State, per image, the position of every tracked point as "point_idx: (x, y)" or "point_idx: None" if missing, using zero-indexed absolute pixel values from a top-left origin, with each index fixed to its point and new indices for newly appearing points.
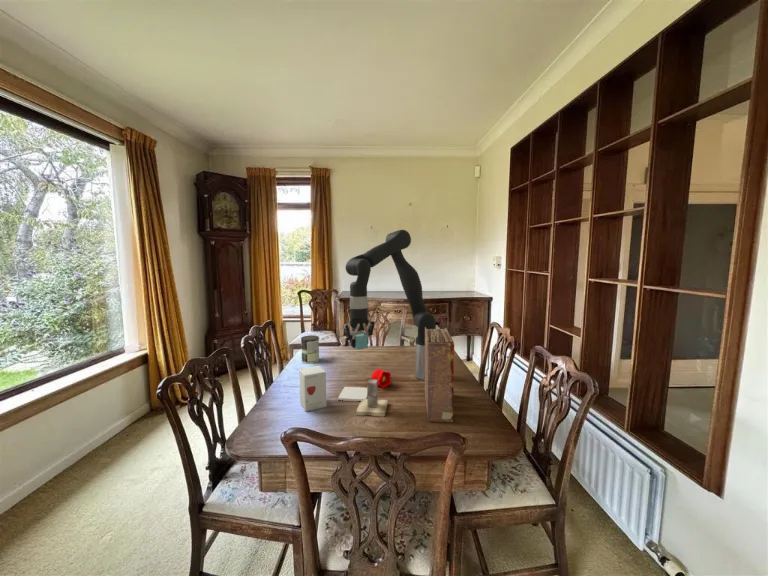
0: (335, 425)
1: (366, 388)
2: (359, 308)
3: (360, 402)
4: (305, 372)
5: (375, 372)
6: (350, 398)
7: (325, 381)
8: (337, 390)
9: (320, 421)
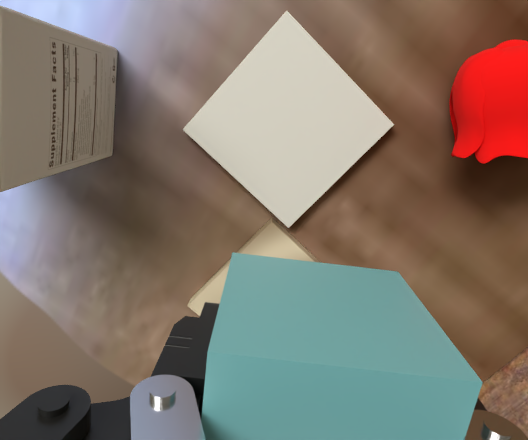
0: (87, 313)
1: (373, 118)
2: None
3: (245, 250)
4: None
5: (497, 90)
6: (235, 172)
7: (39, 178)
8: (242, 4)
9: (46, 255)
